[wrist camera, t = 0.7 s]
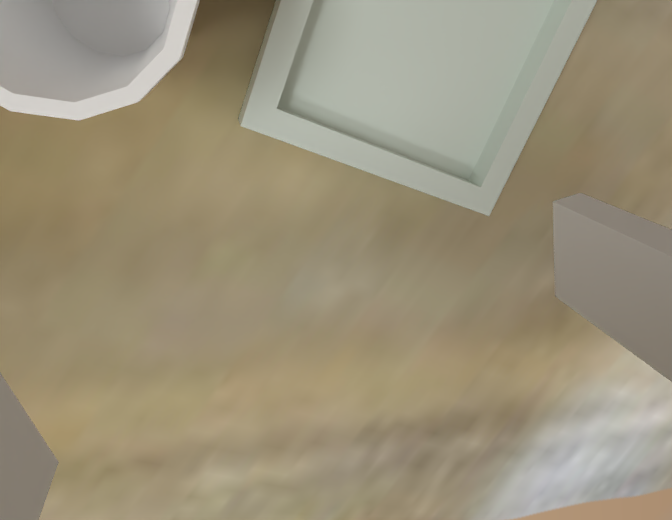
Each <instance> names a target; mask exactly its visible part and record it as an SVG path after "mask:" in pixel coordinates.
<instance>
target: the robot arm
mask: <svg viewBox="0 0 672 520" xmlns="http://www.w3.org/2000/svg"><path fill="white" fill-rule="evenodd" d="M553 234H554V276H555V297H557V298H558V299H559V300H561V301H562V302H563V303H565V304H566V305H568V306H569V307H570V308H572V309H573V310H574V311H576V312H577V313H578V314H580V315H581V316H583V317H584V318H585V319H587V320H588V321H589V322H591V323H592V324H594V325H595V326H596V327H598V328H599V329H600V330H602V331H603V332H604V333H606V334H607V335H609V336H610V337H611V338H613V339H614V340H615V341H617V342H618V343H619V344H621V345H622V346H624V347H625V348H626V349H628V350H629V351H630V352H632V353H633V354H634V355H636V356H637V357H639V358H640V359H641V360H643V361H644V362H645V363H647V364H648V365H650V366H651V367H652V368H654V369H655V370H656V371H658V372H659V373H660V374H662V375H663V376H665V377H666V378H667V379H669V380H670V381H671V382H672V230H671V229H669V228H666V227H664V226H661V225H659V224H656V223H654V222H651V221H649V220H646V219H644V218H641V217H639V216H637V215H634V214H632V213H629V212H627V211H624V210H622V209H619V208H617V207H614V206H612V205H609V204H607V203H605V202H602V201H600V200H597V199H595V198H592V197H590V196H587V195H585V194H582V193H578V194H575V195H572V196H569V197H565V198H562V199H559V200H556V201H553ZM57 465H58V460H57V459H56V457H55V456H54V454H53V453H52V451H51V450H50V448H49V447H48V445H47V444H46V442H45V441H44V439H43V438H42V436H41V434H40V433H39V431H38V430H37V428H36V427H35V425H34V424H33V422H32V421H31V419H30V418H29V416H28V415H27V413H26V411H25V410H24V408H23V407H22V405H21V404H20V402H19V401H18V399H17V398H16V396H15V395H14V393H13V392H12V390H11V389H10V387H9V385H8V384H7V382H6V381H5V379H4V378H3V376H2V375H1V373H0V520H39V517H40V514H41V511H42V508H43V505H44V502H45V500H46V497H47V494H48V491H49V488H50V485H51V482H52V479H53V477H54V474H55V471H56V468H57Z"/></svg>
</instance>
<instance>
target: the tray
mask: <svg viewBox="0 0 672 520" xmlns="http://www.w3.org/2000/svg"><path fill="white" fill-rule="evenodd" d="M596 2H597V0H276V1H275V4H274V7H273V11H272V14H271V17H270V20H269V23H268V26H267V29H266V33H265V36H264V39H263V42H262V45H261V48H260V51H259V54H258V58H257V61H256V64H255V67H254V70H253V73H252V76H251V80H250V83H249V86H248V89H247V92H246V95H245V98H244V102H243V105H242V108H241V111H240V114H239V117H238V120H239V123H240V126H242V127H245V128H248V129H250V130H253V131H256V132H259V133H261V134H264V135H267V136H270V137H272V138H275V139H278V140H281V141H283V142H286V143H289V144H292V145H294V146H297V147H300V148H303V149H305V150H308V151H311V152H314V153H316V154H319V155H322V156H325V157H327V158H330V159H333V160H336V161H338V162H341V163H344V164H347V165H349V166H352V167H355V168H358V169H360V170H363V171H366V172H369V173H371V174H374V175H377V176H380V177H382V178H385V179H388V180H391V181H393V182H396V183H399V184H402V185H404V186H407V187H410V188H413V189H415V190H418V191H421V192H424V193H426V194H429V195H432V196H435V197H437V198H440V199H443V200H446V201H449V202H451V203H454V204H457V205H460V206H462V207H465V208H468V209H471V210H473V211H476V212H479V213H482V214H484V215H487V216H489V215H490V213H491V211H492V209H493V207H494V205H495V203H496V201H497V199H498V197H499V195H500V193H501V191H502V189H503V187H504V185H505V183H506V181H507V179H508V177H509V175H510V173H511V171H512V169H513V167H514V165H515V163H516V161H517V159H518V157H519V155H520V153H521V151H522V149H523V147H524V145H525V143H526V141H527V139H528V137H529V135H530V133H531V131H532V129H533V127H534V126H535V124H536V122H537V120H538V118H539V116H540V114H541V112H542V110H543V108H544V106H545V104H546V102H547V100H548V98H549V96H550V94H551V92H552V90H553V88H554V86H555V84H556V82H557V80H558V78H559V76H560V74H561V72H562V70H563V68H564V66H565V64H566V62H567V60H568V58H569V56H570V54H571V52H572V50H573V48H574V46H575V44H576V42H577V40H578V38H579V36H580V34H581V32H582V30H583V28H584V26H585V24H586V22H587V20H588V18H589V16H590V14H591V12H592V10H593V8H594V6H595V4H596Z"/></svg>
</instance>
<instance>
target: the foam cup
mask: <svg viewBox="0 0 672 520" xmlns="http://www.w3.org/2000/svg"><path fill="white" fill-rule="evenodd" d="M199 2H200V1H199V0H0V106H2V107H4V108H6V109H7V110H9V111H13V112H20V113H28V114H35V115H42V116H50V117H57V118H64V119H72V120H82V119H86V118H89V117H92V116H95V115H98V114H102V113H105V112H108V111H111V110H114V109H118V108H121V107H124V106H127V105H131V104H134V103H137V102H139V101H140V100H141V99H142V98H144V97H145V96H146V95H147V94H148V93H149V92H150V91H151V90H152V89H153V88H154V87H155V86H156V85H157V84H158V83H159V82H160V81H161V80H162V79H163V78H164V77H165V76H166V75H167V73H168V72H169V71H170V70H171V69H172V68H173V67H174V66H175V65H176V64H177V63H178V62H179V61H180V60H181V59H182V58H183V56H184V53H185V50H186V46H187V43H188V39H189V36H190V33H191V29H192V26H193V22H194V19H195V16H196V12H197V9H198V5H199Z"/></svg>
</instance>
